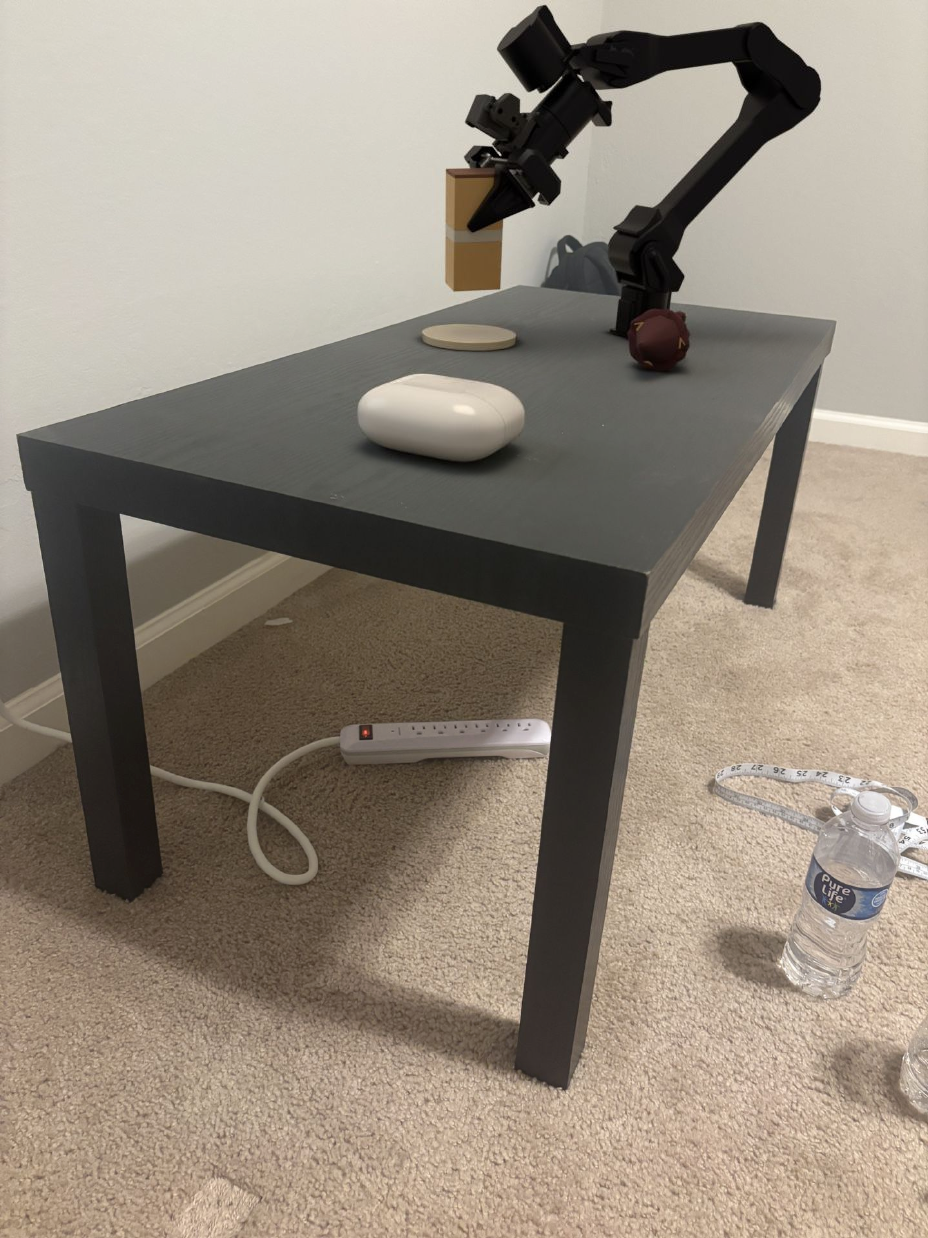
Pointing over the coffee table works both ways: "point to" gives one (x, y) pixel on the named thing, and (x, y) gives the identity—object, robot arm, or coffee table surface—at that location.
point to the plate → (469, 337)
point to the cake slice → (470, 233)
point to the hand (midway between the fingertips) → (461, 227)
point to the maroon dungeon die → (659, 339)
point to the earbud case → (441, 417)
